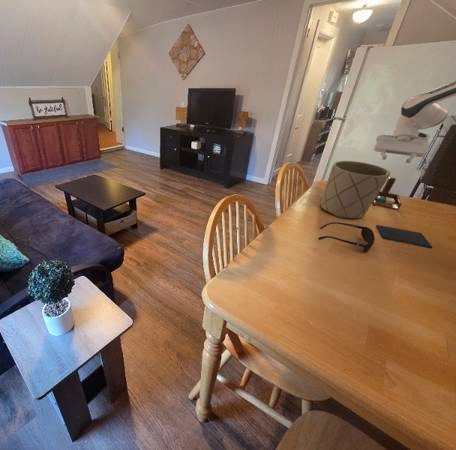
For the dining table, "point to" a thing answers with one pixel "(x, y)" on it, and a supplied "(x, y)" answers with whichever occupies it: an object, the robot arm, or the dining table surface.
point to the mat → (403, 236)
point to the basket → (388, 195)
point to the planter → (352, 188)
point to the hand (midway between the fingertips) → (395, 160)
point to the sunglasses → (365, 233)
